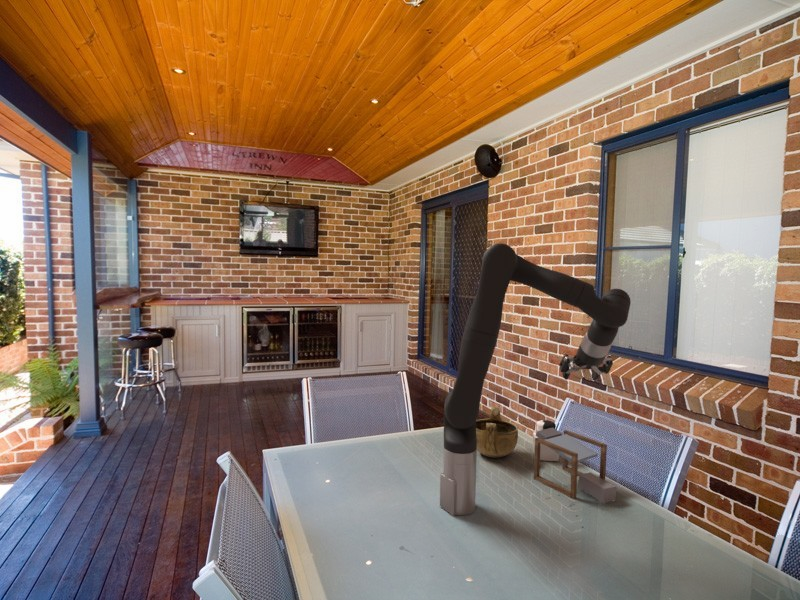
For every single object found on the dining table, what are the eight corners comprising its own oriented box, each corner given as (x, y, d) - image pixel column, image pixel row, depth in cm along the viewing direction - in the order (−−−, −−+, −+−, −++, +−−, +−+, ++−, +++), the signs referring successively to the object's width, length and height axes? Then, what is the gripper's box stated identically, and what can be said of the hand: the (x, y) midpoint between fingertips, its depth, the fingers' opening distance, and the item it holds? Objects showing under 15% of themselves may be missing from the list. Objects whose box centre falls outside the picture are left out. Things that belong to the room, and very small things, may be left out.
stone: (578, 488, 141) (603, 503, 131) (579, 474, 141) (604, 488, 131) (589, 486, 142) (615, 501, 133) (590, 472, 142) (616, 486, 133)
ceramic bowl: (474, 441, 179) (475, 403, 178) (518, 446, 174) (519, 408, 173) (465, 463, 158) (466, 421, 157) (516, 470, 153) (517, 426, 152)
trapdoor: (571, 465, 136) (573, 460, 135) (530, 436, 149) (531, 432, 149) (597, 457, 142) (598, 452, 142) (556, 430, 156) (557, 426, 155)
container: (553, 453, 168) (554, 418, 167) (558, 461, 160) (559, 425, 160) (532, 452, 169) (533, 417, 168) (536, 460, 161) (537, 424, 160)
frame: (573, 499, 134) (575, 454, 133) (533, 478, 147) (535, 438, 146) (605, 486, 142) (606, 444, 141) (564, 468, 155) (566, 430, 154)
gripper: (616, 336, 131) (599, 368, 143) (566, 335, 132) (553, 366, 144) (624, 358, 126) (605, 388, 138) (572, 356, 127) (558, 387, 138)
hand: (579, 377), depth 141 cm, fingers open, 8 cm apart
